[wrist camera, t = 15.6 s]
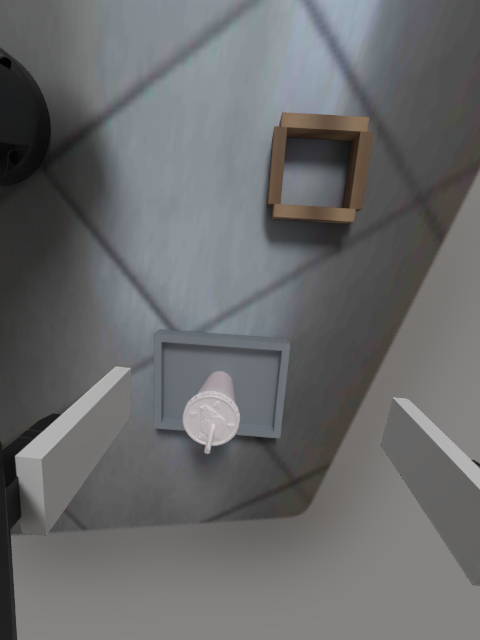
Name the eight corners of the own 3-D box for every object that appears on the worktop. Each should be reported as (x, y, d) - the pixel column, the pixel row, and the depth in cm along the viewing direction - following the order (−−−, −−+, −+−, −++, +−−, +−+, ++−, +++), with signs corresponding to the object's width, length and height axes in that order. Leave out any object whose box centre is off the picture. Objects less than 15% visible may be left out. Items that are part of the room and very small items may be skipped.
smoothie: (209, 410, 44) (189, 483, 30) (189, 372, 42) (160, 430, 29) (249, 394, 43) (248, 462, 29) (230, 355, 41) (220, 406, 28)
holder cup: (266, 218, 38) (267, 216, 35) (273, 123, 36) (275, 112, 33) (351, 224, 38) (359, 222, 35) (365, 128, 35) (375, 117, 33)
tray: (159, 419, 45) (154, 428, 43) (159, 329, 42) (153, 334, 40) (278, 428, 45) (280, 438, 43) (288, 338, 42) (290, 344, 39)
